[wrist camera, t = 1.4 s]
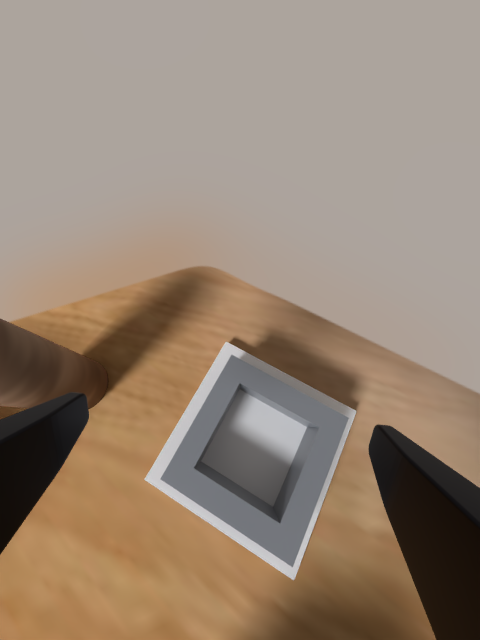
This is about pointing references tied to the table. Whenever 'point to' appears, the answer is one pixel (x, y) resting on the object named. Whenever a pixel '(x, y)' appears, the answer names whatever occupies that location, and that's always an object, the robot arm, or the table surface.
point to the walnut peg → (44, 370)
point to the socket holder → (255, 456)
